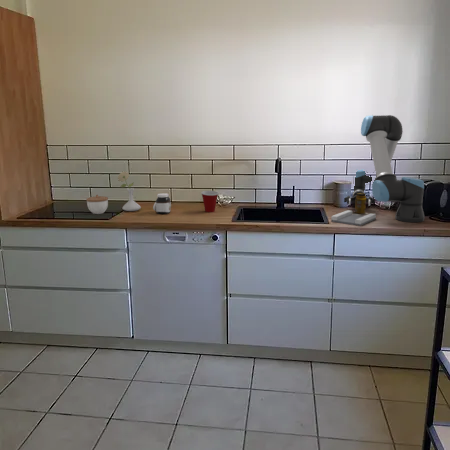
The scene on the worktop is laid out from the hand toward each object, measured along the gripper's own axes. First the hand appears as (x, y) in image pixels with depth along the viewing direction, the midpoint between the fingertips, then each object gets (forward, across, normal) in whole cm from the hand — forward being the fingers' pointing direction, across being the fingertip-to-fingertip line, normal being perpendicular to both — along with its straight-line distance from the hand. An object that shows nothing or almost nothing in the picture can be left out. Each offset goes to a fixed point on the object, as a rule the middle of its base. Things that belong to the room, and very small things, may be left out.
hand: (359, 203), depth 266 cm
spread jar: (+20, +116, -7) cm, 118 cm away
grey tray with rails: (+15, +3, -7) cm, 17 cm away
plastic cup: (+10, +88, -7) cm, 89 cm away
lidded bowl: (+29, +154, -7) cm, 157 cm away
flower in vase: (+19, +138, -7) cm, 139 cm away
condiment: (-4, 0, -7) cm, 8 cm away
